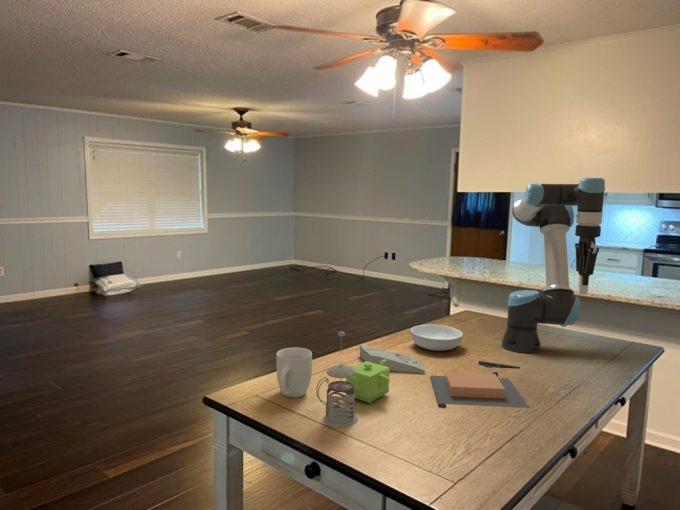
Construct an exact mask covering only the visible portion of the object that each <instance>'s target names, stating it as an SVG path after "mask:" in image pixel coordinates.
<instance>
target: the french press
mask: <svg viewBox="0 0 680 510" xmlns="http://www.w3.org/2000/svg"><path fill="white" fill-rule="evenodd" d="M345 335H346V333H345V331H341V330H340V331H339V332H338V333H337V336H338V337H340V352H343V351H342V348H343V347H342V346H343V344H342V341H343V339H342V338H343V337H345ZM325 371H326V375H327V376H329V377H330V378H335V379H340V380H336V381H335V380H334V381H331V382H330V381H329V379H328V377H327V376H324V377H323V378H321V379H320V380H318V383H317V385H316V388H315V389H316V396H317V399H318V400H319V402H321V403H322V404H323V405H325V415H324V416H323V418H322V422H323V423H324V424H325V425H327V426H330V427H332V428H336V429H337V428H338V429H340V428H341V429H343V428H344V429H345V428H349V427H353V426H355V425H356V424H357V423H358V422H357V421H359V419H358V416H357V415H356V414H355V405H356V402H355V400H356V399H355V390H354V389H353V388H354V385H353V384H352V383H350V382H347V381H346V380H342V379H346V378H348V377H352V376H354V375H355V373H356V371H355V370H354V369H353V368H352V367H349V365H346V364H337V365H333V366H331V367H329V368H328V369H326V370H325ZM324 382H326V383H327V387H328V388H327V389H326V401H325V400H322V399H321V398H320V396H319V395H320V394H319V393H320V388H321V387H322V385H323V383H324ZM346 394H350V396H348V395H346ZM337 395H338V396H337ZM354 424H355V425H354Z"/></svg>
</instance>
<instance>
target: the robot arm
mask: <svg viewBox="0 0 680 510" xmlns="http://www.w3.org/2000/svg"><path fill="white" fill-rule="evenodd" d="M605 182H606V181H605V178H602V177H582V178H580V180H579V183H537V182H536V183H529V184H528V185H527V186H526V188H525V192H524V198H521V199H519V200H517V201H516V202H515V203H514V204H513V205H512V210H511V211H512V212H511V214H512V217H513V218H514V219H515V220H516V221H517V222H518V223H520V224H522V225H523V226H527V227H535V228H537V227H538V228H539V232H540V234H542V235H543V242H544V243H543V245H544V262H545V264H544V266H545V268H544V269H545V286H546V288H545V289H544V290H542V294H541V293H540V292H539V291H537V290H534V289H533V290H531V289H523V290H515V291H513V292H511V293H510V294H509V296H508V301H507V315H506V316H507V317H506V318H507V319H506V320H507V321H506V328H505V330H504V333H503V335H502V338H501V347H502V348H503V349H506V350H508V351H512V352H517V353H522V354H523V353H524V354H525V353H526V354H529V353H531V354H532V353H533V354H534V353H537V352H540V351H541V350H542V349H541V347H542V343H541V340H540V337H539V333H538V324H542V325H555V326H557V325H559V326H572V325H575V323H577V322H578V318H579V315H580V313H581V312H580V310H581V299H580V297H579V296H577V295H575V292H574V290H573V289H572V288H570V277H569V275H570V274H569V262H568V261H569V260H568V259H569V258H568V248H567V247H568V246H567V233H568V232H569V231H570V228H571V227H573V226H574V221H575V218H576V222H575V223H576V225H575V231H574V232H575V233H574V235H575V236H576V237H578V238H579V239H578V243H577V242H575V243H574V248H575V271H576V272H577V273H578V285H577V294H578V295H586V296H587V295H588V293H589V282H590V276H592V275H594V271H595V266H596V261H597V257H598V253H599V252H600V248H599V247H597V246H596V245H597V244H596V238H600V237H601V231H602V227H601V224H602V223H603V209H604V199H605V190H606V185H605V184H606V183H605ZM573 206H577V210H576V214H575V213H574V208H573Z"/></svg>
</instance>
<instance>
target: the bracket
mask: <svg viewBox="0 0 680 510" xmlns="http://www.w3.org/2000/svg"><path fill="white" fill-rule="evenodd" d="M478 365H480V366H482V367H485V368H490V369H491V368H492V369H494V368H495V369H515V370H516V369H519V370H520V369H521V366H518V365H510V364H504V363H497V362H489V361H483V360H478ZM492 374H495V375H496V376H497V377H498V374H499V373H498V372H497V371H494V372H493V373H492Z"/></svg>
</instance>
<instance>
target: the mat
mask: <svg viewBox="0 0 680 510" xmlns="http://www.w3.org/2000/svg"><path fill="white" fill-rule="evenodd" d="M429 377H430V378H429V379H430V382H431V386H432V388H433V392H434V396H435V399H436V403H437V406H438V407H439V408H440V407H441V408H447V405H459V406H460V405H462V406H464V405H465V406H479V407H480V406H482V407H484V406H485V407H486V406H487V407H504V408H506V407H507V408H509V407H511V408H528V409H529V408H530V406H529V405H528V403H527V402H526V400H525V399H524V398H523V396H522V395H521V394H520V392H519V391H518V390H517V388H516V386H515V385H514V383H513V382H512V381H511V379H510V378H502V377H501V378H500V377H497V378H498V379H499V381H500V382H501V384H502V385H503V387H504V388H505V398H503V399H498V398H475V397H452V396H450V393H449V390H448V388H447V385H446V382H445V375H430V376H429Z"/></svg>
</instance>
